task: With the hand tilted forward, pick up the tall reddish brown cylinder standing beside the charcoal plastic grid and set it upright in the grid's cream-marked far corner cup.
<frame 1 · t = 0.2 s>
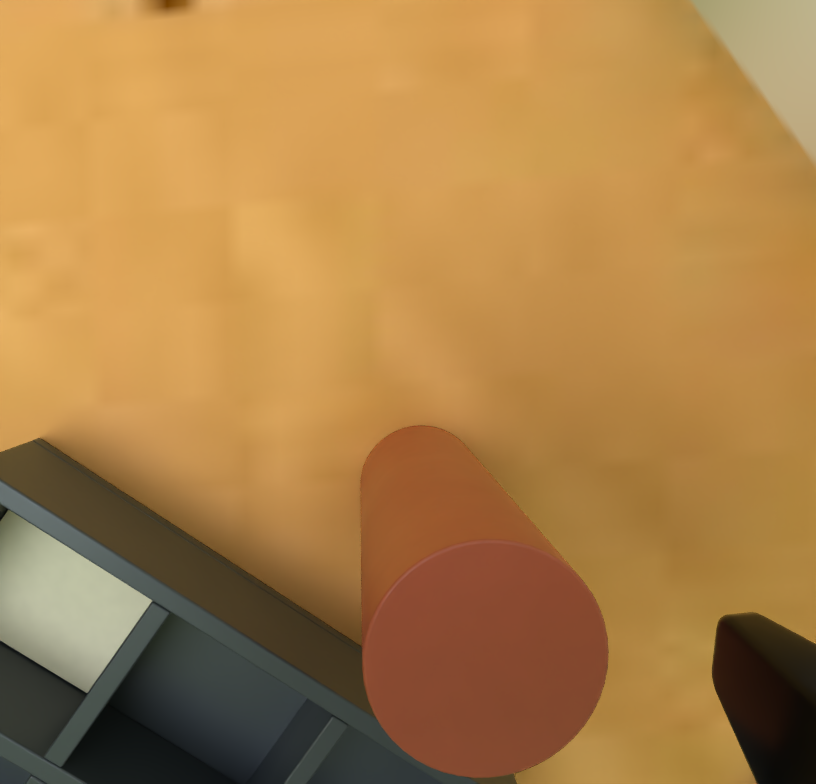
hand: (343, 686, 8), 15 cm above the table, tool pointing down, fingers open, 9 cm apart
reddish brown cylinder: (420, 484, 24), on the table
grid: (174, 743, 24), on the table
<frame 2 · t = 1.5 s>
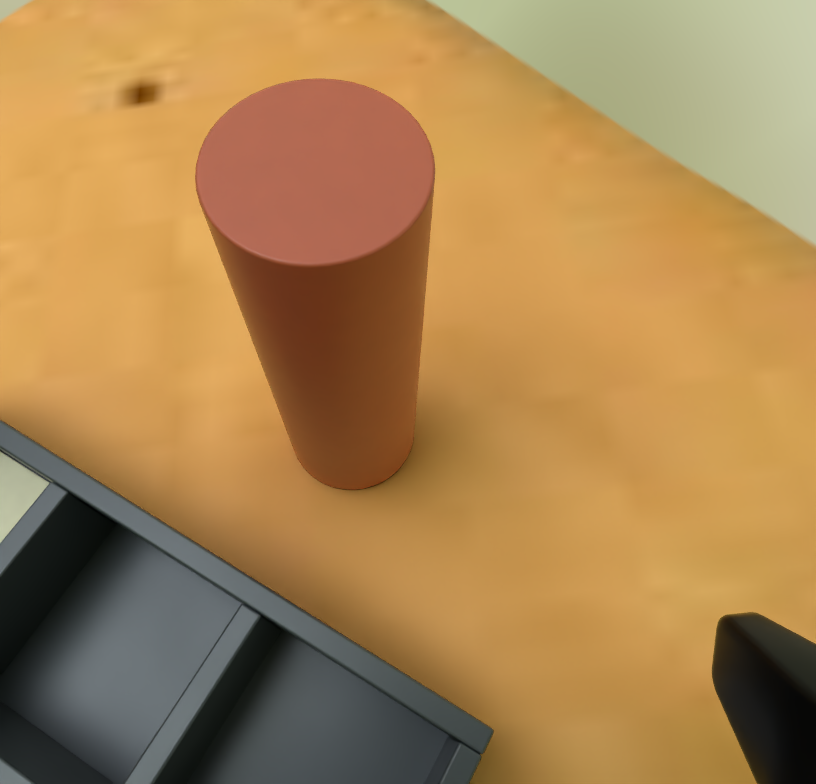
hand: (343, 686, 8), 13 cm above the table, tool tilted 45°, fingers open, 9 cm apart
reddish brown cylinder: (353, 431, 23), on the table
grid: (65, 757, 19), on the table
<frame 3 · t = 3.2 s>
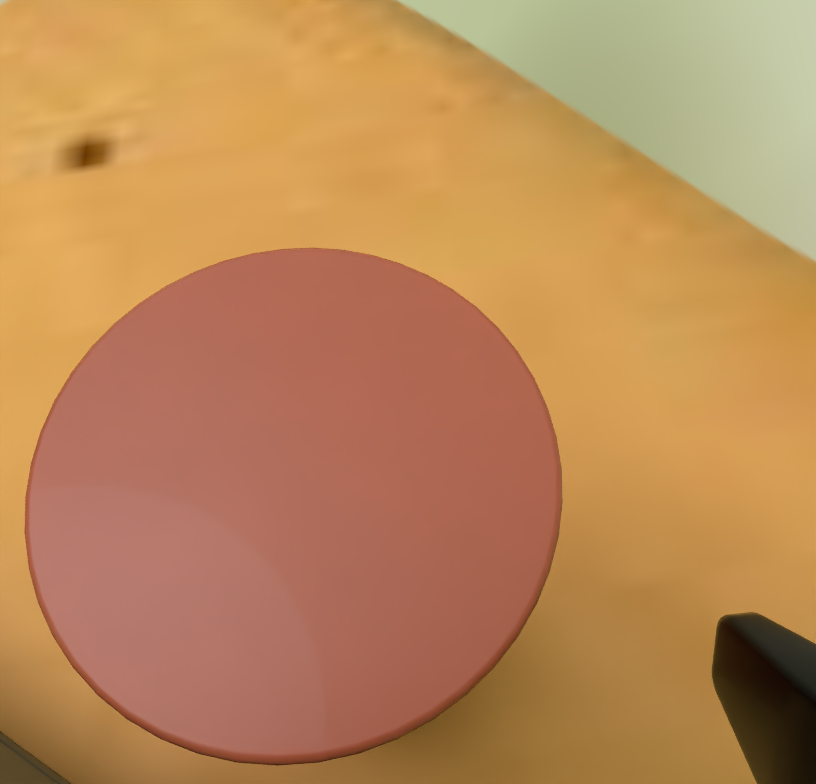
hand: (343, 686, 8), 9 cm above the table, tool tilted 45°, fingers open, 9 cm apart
reddish brown cylinder: (362, 637, 17), on the table
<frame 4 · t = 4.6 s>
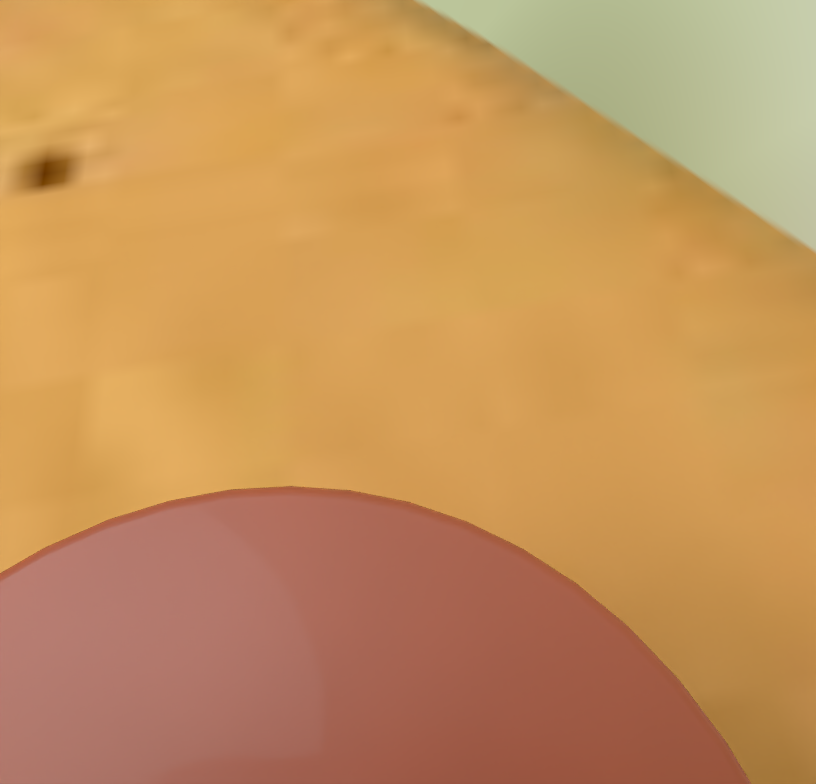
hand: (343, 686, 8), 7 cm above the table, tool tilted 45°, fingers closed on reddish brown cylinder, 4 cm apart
reddish brown cylinder: (368, 775, 14), on the table, touching gripper
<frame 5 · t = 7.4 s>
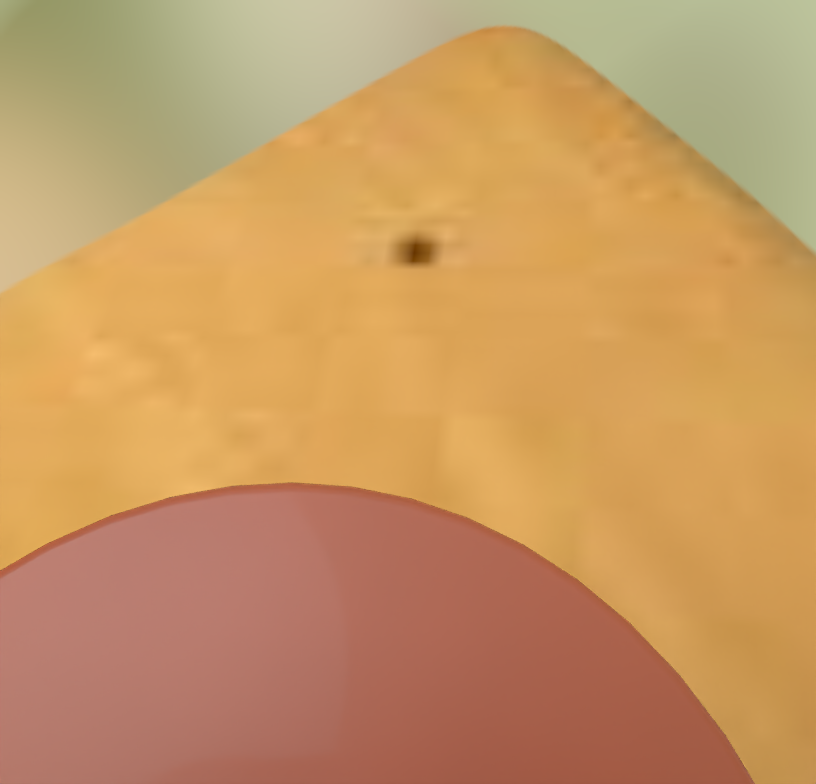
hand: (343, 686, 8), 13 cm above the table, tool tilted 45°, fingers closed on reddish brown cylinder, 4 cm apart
reddish brown cylinder: (368, 774, 14), point 6 cm above the table, touching gripper
when the fingers open (7 cm above the table, at t = 10.2 s): reddish brown cylinder stays where it is, resting on grid.
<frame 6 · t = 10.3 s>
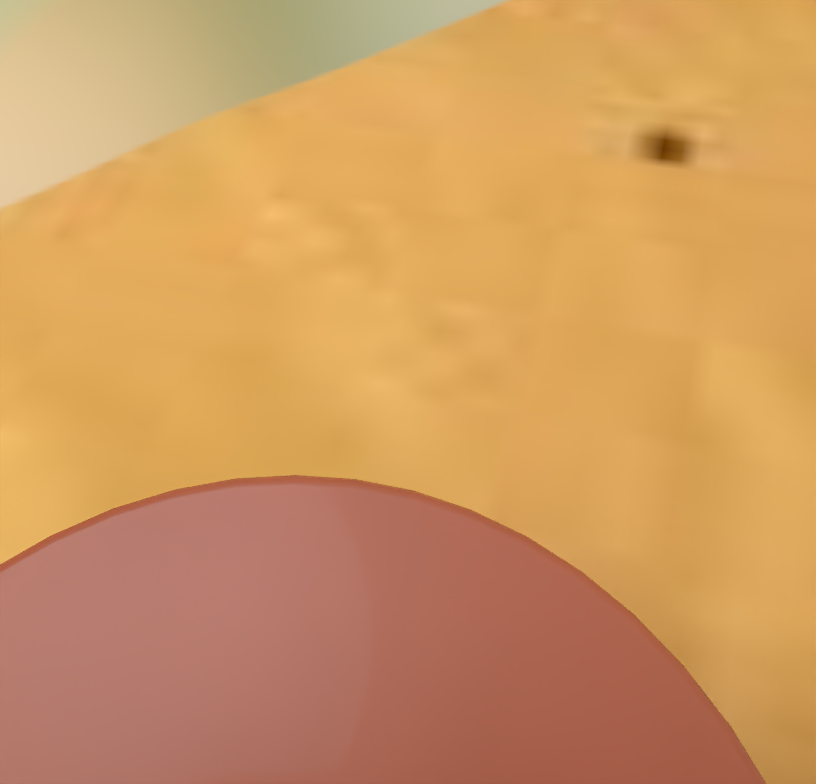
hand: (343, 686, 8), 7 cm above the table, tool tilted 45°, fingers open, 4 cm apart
reddish brown cylinder: (369, 783, 14), point 1 cm above the table, touching grid
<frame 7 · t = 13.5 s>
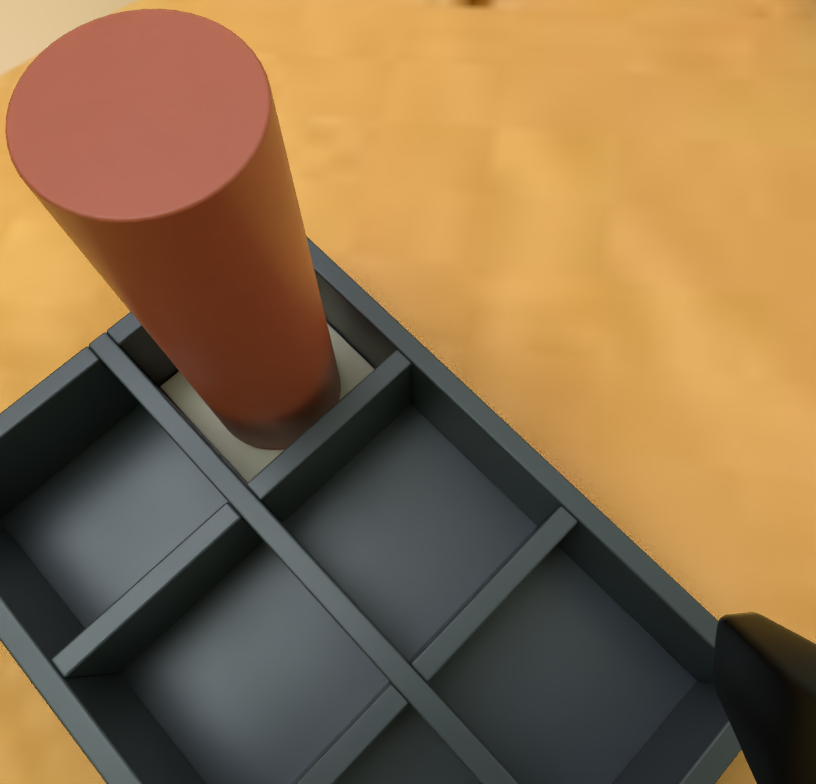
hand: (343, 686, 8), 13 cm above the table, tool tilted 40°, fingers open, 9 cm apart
reddish brown cylinder: (277, 389, 22), point 1 cm above the table, touching grid
grid: (337, 598, 21), on the table
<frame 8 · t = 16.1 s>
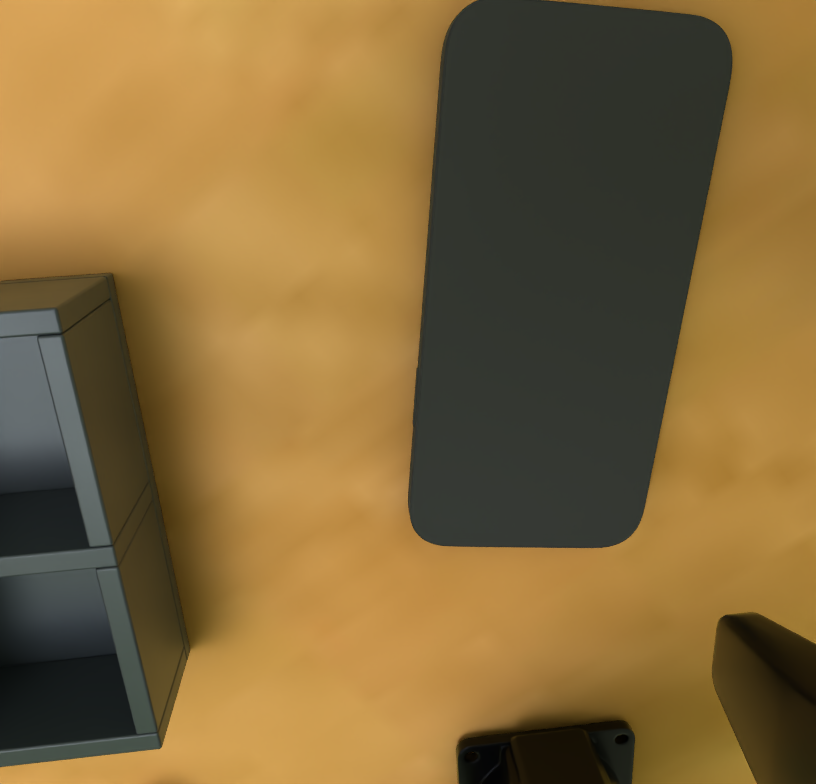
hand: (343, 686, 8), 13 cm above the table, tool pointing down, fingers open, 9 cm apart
phone: (547, 303, 20), on the table
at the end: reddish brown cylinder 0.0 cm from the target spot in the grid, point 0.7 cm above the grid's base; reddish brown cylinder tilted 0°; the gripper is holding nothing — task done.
